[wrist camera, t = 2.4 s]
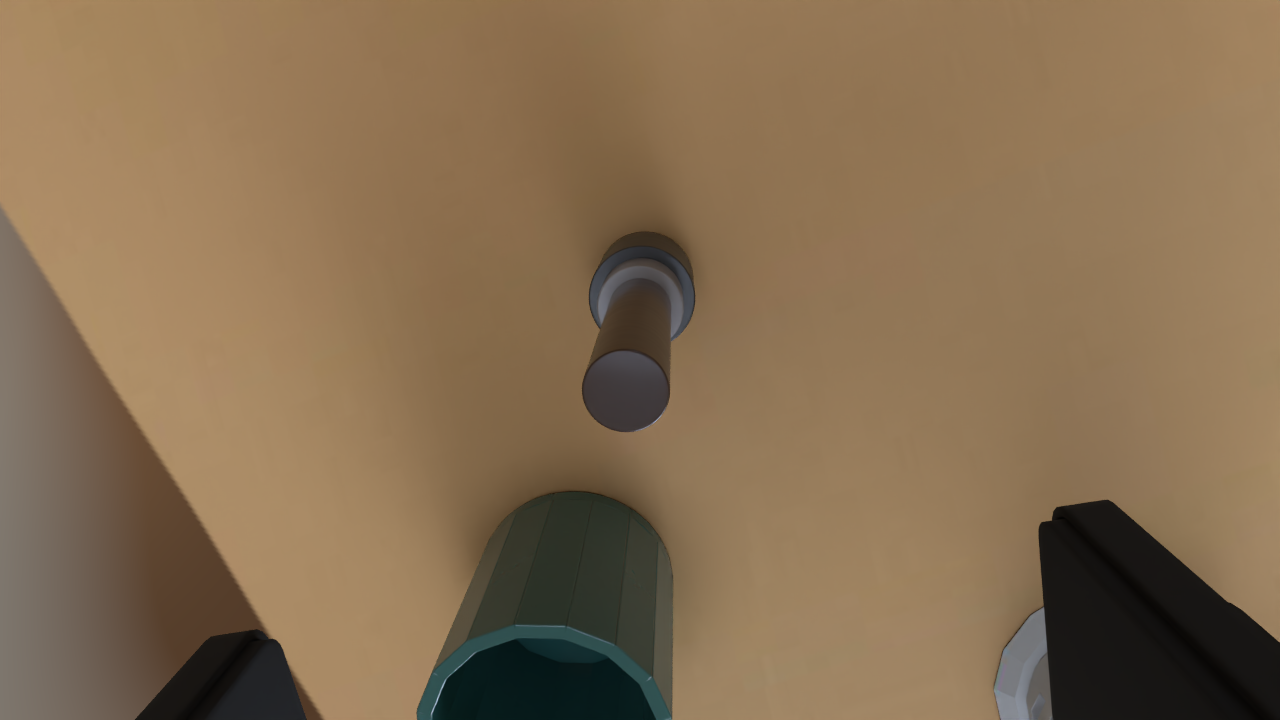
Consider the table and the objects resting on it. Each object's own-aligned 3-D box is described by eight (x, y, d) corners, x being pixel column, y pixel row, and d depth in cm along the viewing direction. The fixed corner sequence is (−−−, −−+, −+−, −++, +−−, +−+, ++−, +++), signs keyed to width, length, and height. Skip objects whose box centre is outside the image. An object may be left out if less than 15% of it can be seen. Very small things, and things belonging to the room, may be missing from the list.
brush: (582, 301, 33) (522, 426, 20) (621, 215, 32) (585, 286, 19) (667, 340, 33) (663, 489, 20) (709, 256, 32) (733, 355, 19)
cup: (443, 575, 36) (365, 732, 27) (574, 452, 35) (538, 576, 25) (579, 693, 38) (549, 879, 29) (712, 581, 36) (725, 741, 27)
